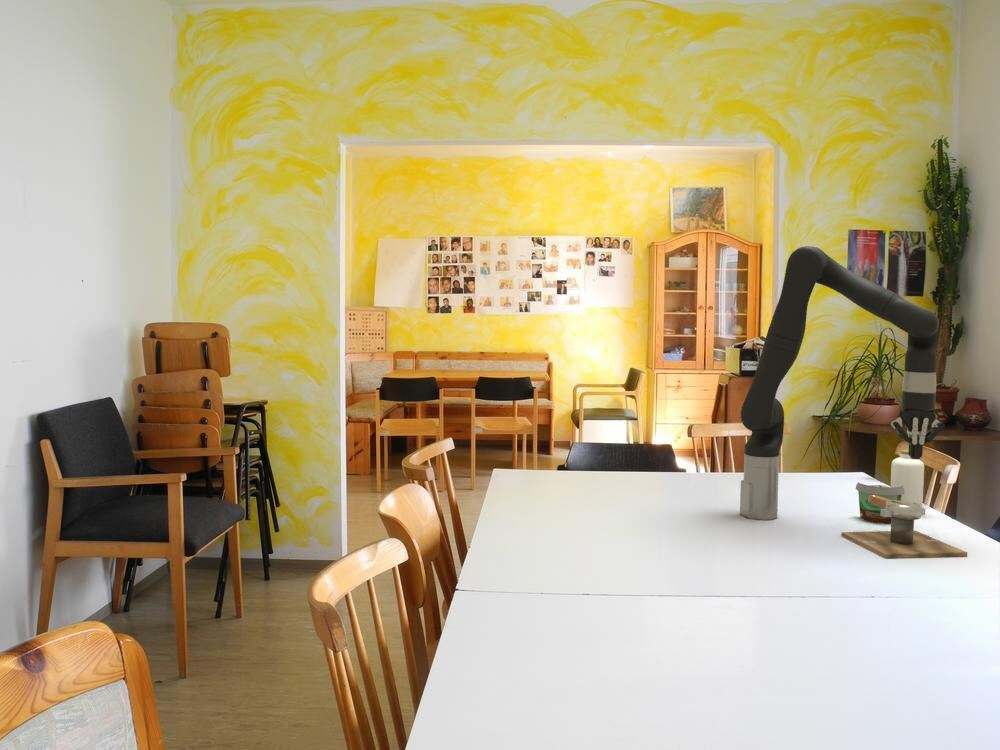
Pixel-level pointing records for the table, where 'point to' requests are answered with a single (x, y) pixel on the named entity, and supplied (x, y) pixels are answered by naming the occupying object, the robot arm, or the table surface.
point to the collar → (897, 508)
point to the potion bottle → (908, 477)
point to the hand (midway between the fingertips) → (915, 458)
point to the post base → (903, 549)
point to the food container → (872, 511)
